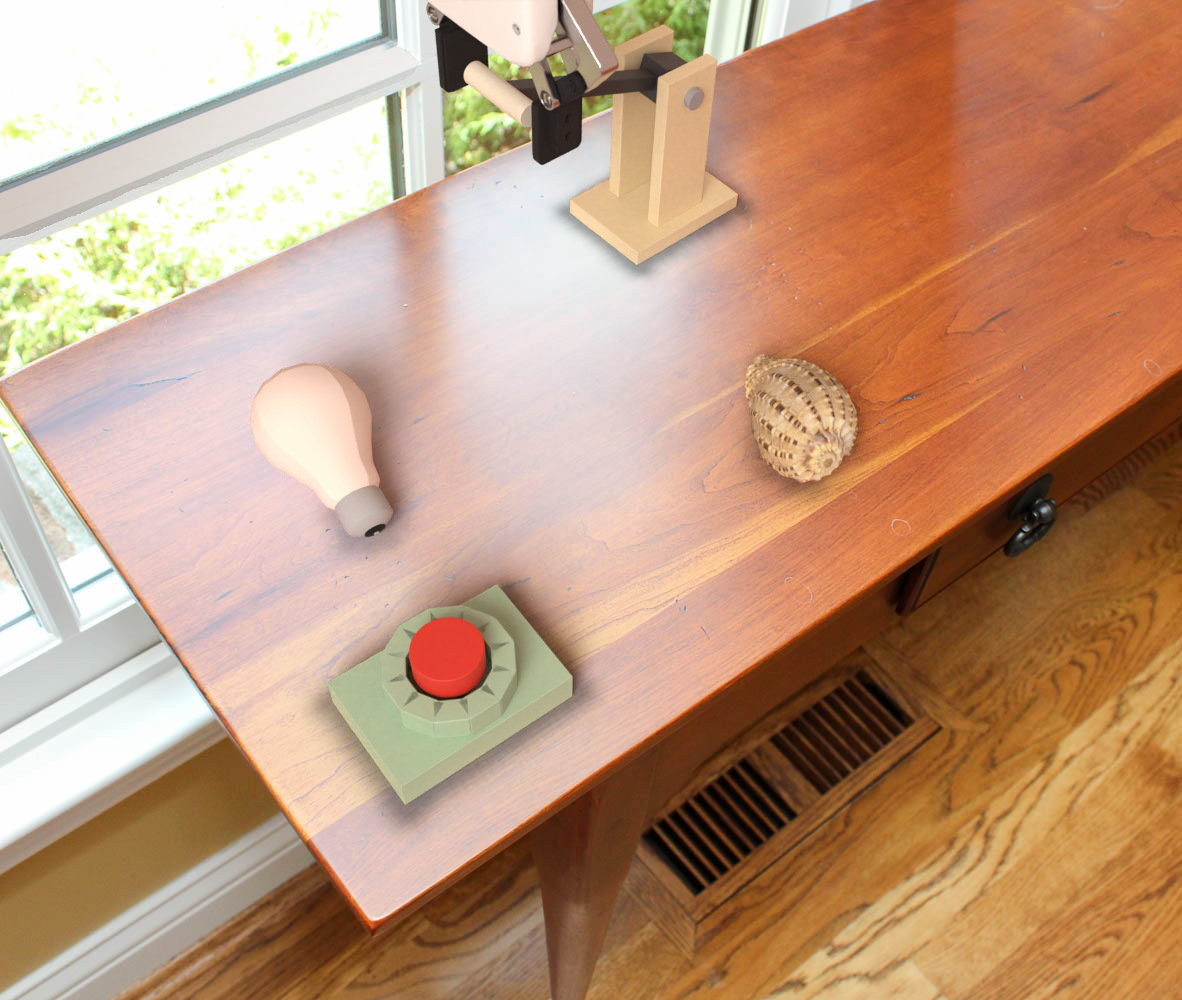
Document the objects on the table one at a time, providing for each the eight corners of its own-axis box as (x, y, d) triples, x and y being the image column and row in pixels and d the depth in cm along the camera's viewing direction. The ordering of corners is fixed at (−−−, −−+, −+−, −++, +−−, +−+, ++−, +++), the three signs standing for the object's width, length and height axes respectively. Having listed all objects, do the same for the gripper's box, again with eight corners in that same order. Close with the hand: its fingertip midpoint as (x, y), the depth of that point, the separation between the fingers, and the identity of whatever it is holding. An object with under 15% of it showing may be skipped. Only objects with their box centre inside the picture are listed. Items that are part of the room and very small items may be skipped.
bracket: (636, 265, 85) (647, 109, 75) (569, 212, 87) (570, 54, 77) (736, 206, 90) (758, 52, 80) (670, 158, 92) (683, 2, 82)
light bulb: (422, 487, 66) (325, 323, 68) (308, 548, 64) (212, 378, 66) (437, 520, 72) (348, 370, 74) (334, 577, 70) (246, 421, 72)
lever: (516, 136, 69) (525, 96, 67) (459, 92, 71) (467, 53, 69) (699, 112, 81) (710, 77, 79) (647, 75, 82) (657, 41, 81)
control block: (405, 805, 60) (396, 771, 57) (332, 702, 63) (320, 664, 60) (572, 696, 65) (573, 659, 62) (498, 604, 67) (495, 564, 64)
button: (437, 711, 59) (434, 694, 58) (398, 658, 61) (394, 641, 59) (500, 672, 61) (499, 655, 60) (461, 622, 62) (458, 604, 61)
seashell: (708, 452, 79) (805, 509, 72) (693, 370, 76) (792, 421, 69) (801, 405, 83) (902, 455, 76) (789, 325, 79) (894, 369, 72)
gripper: (317, -256, 58) (364, 67, 72) (560, -95, 52) (560, 223, 66) (445, -289, 62) (466, 25, 76) (685, -142, 56) (660, 169, 70)
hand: (510, 115), depth 71 cm, fingers open, 7 cm apart
